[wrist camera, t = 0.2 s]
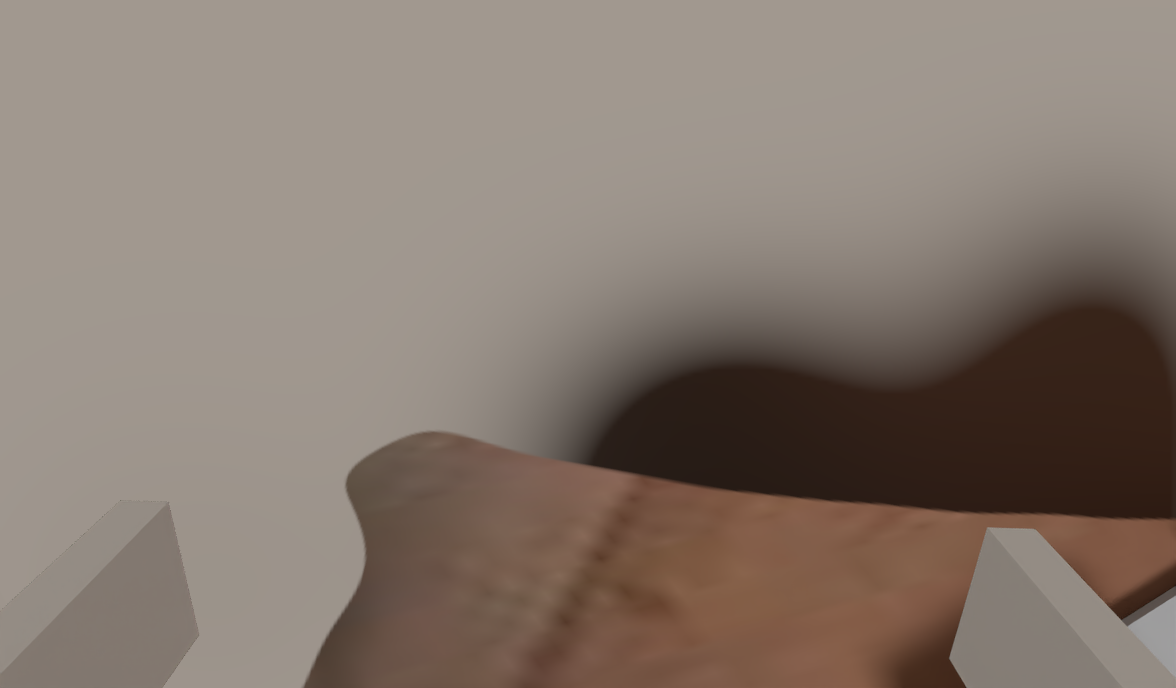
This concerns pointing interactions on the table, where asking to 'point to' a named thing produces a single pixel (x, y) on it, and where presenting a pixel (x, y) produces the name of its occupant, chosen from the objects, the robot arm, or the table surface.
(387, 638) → the table surface
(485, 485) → the table surface
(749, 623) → the table surface
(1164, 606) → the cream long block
